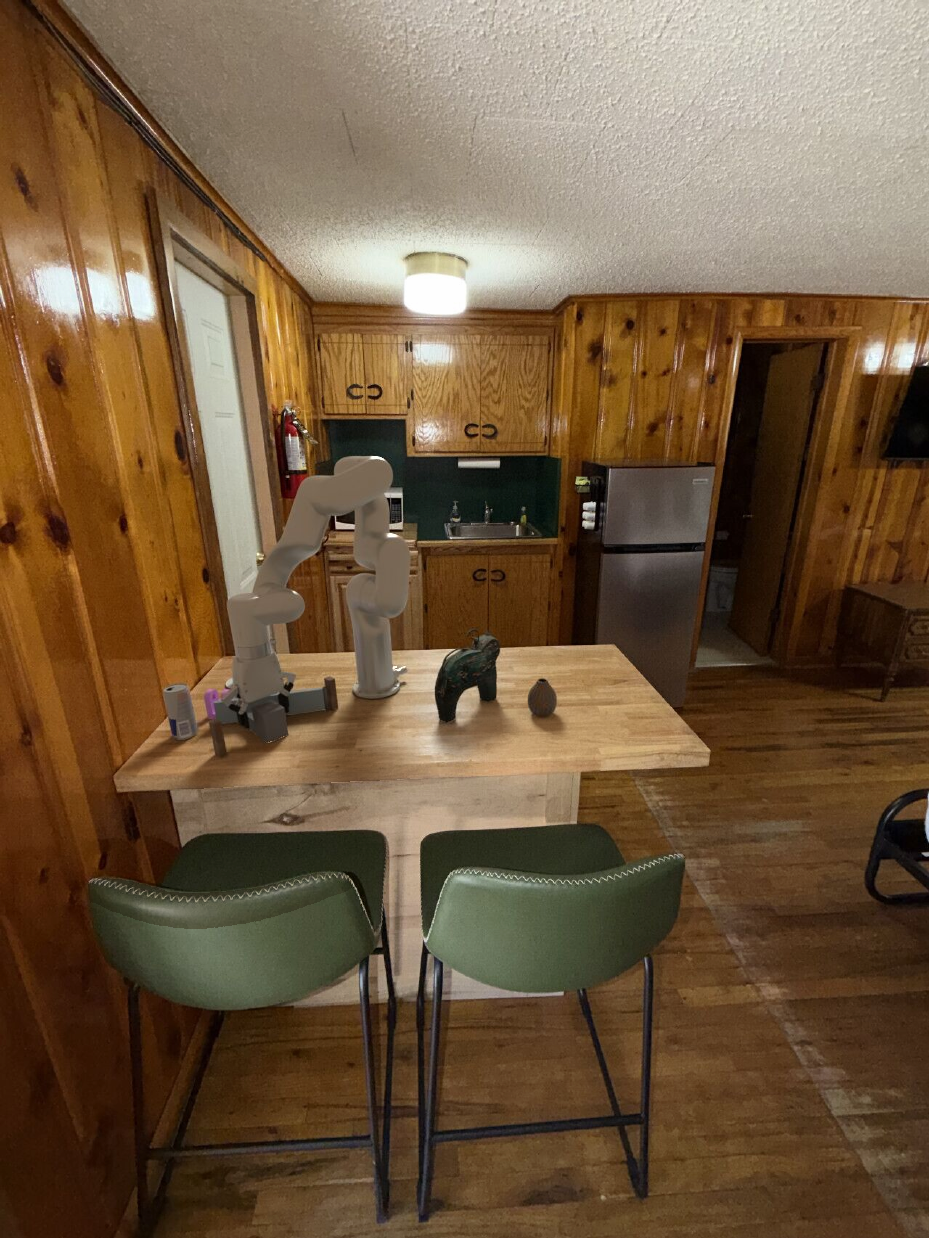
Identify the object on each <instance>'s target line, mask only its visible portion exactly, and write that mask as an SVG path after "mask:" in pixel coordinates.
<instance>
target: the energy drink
mask: <svg viewBox="0 0 929 1238" xmlns="http://www.w3.org/2000/svg"><path fill="white" fill-rule="evenodd" d="M162 696H163V697H162V698H163V700H164V706H165V709H166V715H167V718H168V719H167V720H168V724H169V727H170V732H171V737H172V738H173V739H174V740H176V741H185V740H189V739H191V738H193V737H195V736H196V735H197V733H198V732H199V728H198V725H197V719H196V714H195V709H194V704H193V699H192V695H191V690H190V686H189V685H188V684H187V683H186V682H185V683H184V682H177V683H172V684H169V685H167V686H166V687H164V688H163V692H162Z"/></svg>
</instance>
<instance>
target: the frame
mask: <svg viewBox="0 0 929 1238" xmlns="http://www.w3.org/2000/svg"><path fill="white" fill-rule="evenodd" d="M323 680H324V686H326V687H327V693H328V701H329V710H332V711H333V710H336V709H338V708H339V702H338V694H337V693H338V691H337V684H336V678H335V677H332V676H330V675H329V676H326V677H324V678H323ZM208 725H209V730H210V734H211V735H210V736H211V740H212V745H213V750H214V755H215V756H217V757H218V758H219V759H221V758H223V757H226V756H228V752H227V747H226V741H225V736H224V731H223V725H222V724H221V721H219V720H218V719H210V720H208Z"/></svg>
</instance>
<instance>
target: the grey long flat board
mask: <svg viewBox="0 0 929 1238" xmlns="http://www.w3.org/2000/svg"><path fill="white" fill-rule="evenodd" d="M278 694H280V693H279V692H278V693H276V694H273V695H270V696H268V697H265V698H263V699H260V700H257V701H255V702H252V703H249V704H248V706H247V708H246V710H245V712H246V713H248V712H251V711H252V708H251V707H253V706H256V705H258V704H261V703H264V702H267V701H270V700H274V701H275V702H277V703H278V704H279V700H278ZM288 699H289V712H288V713H285V715H286V716H288V715H289V716H290V715H297V714H304V713H312V712H318V711H329V710H330V708H329V701H328V693H327V687H326V686H325V685H324V686H321V687H313V688H306V689H300V690H291V691H290V695H289V696H288ZM237 700H238V699H237V698H234V699H232V700H231V702H232V703H233V704H236V702H237ZM213 704H214V710H215V715H216V719H218V720H219V721H221V724H232V723H238V718H237V713H236V712H235V711H232V710H230V709H229V708H227V706H226V705H225V704H224V703H223V702H222V701H221V699H219V701H214V703H213Z"/></svg>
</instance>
